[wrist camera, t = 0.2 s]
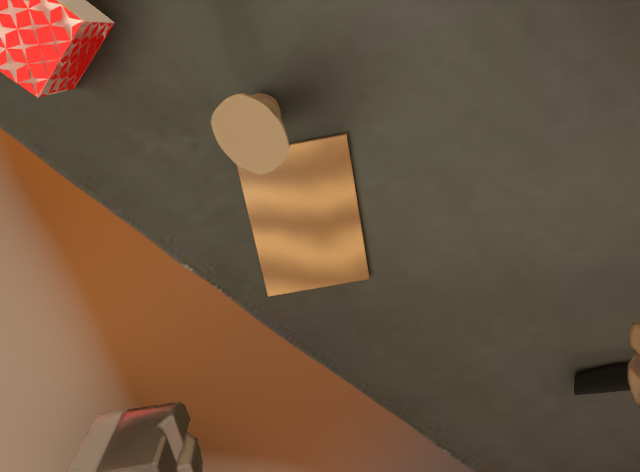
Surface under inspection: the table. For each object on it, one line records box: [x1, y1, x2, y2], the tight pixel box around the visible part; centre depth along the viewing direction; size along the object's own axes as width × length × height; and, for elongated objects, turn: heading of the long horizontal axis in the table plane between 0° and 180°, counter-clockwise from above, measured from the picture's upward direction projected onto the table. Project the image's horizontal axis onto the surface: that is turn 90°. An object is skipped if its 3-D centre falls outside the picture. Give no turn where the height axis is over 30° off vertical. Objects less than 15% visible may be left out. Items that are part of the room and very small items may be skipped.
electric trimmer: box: [574, 364, 631, 395], centre depth 67 cm, size 4×16×3 cm, turn 96°
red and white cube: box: [0, 0, 115, 97], centre depth 47 cm, size 8×8×8 cm
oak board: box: [236, 133, 369, 296], centre depth 59 cm, size 17×12×1 cm
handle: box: [211, 93, 290, 175], centre depth 48 cm, size 5×6×15 cm
